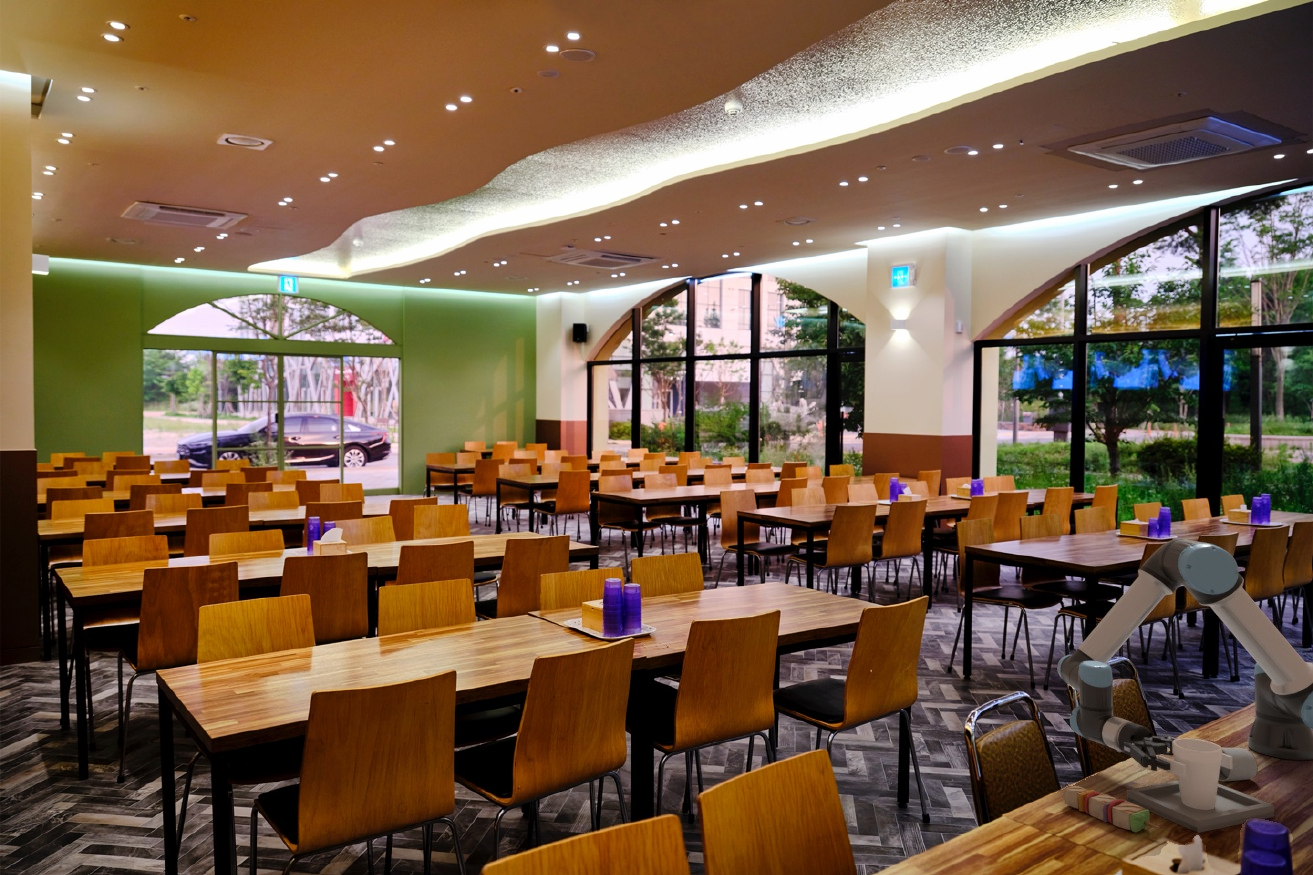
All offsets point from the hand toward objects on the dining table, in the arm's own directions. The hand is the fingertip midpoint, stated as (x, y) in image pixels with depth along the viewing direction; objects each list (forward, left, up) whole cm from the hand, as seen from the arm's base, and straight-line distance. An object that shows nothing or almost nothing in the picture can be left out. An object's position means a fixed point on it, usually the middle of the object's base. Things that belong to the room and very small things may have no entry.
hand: (1208, 767), depth 197 cm
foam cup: (0, -3, -9) cm, 10 cm away
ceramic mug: (-23, -14, -10) cm, 28 cm away
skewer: (+22, -5, -10) cm, 25 cm away
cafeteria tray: (0, -3, -10) cm, 10 cm away
